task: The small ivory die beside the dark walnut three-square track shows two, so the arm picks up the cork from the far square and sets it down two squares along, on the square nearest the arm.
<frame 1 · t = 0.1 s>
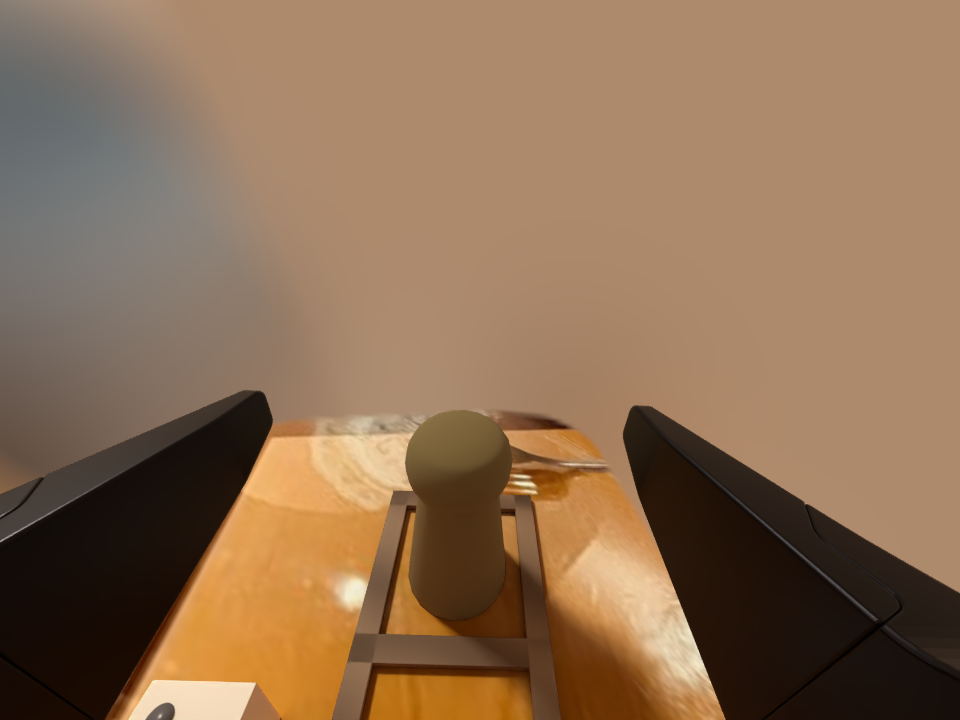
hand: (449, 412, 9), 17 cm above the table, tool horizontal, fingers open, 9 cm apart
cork: (457, 567, 22), on the table
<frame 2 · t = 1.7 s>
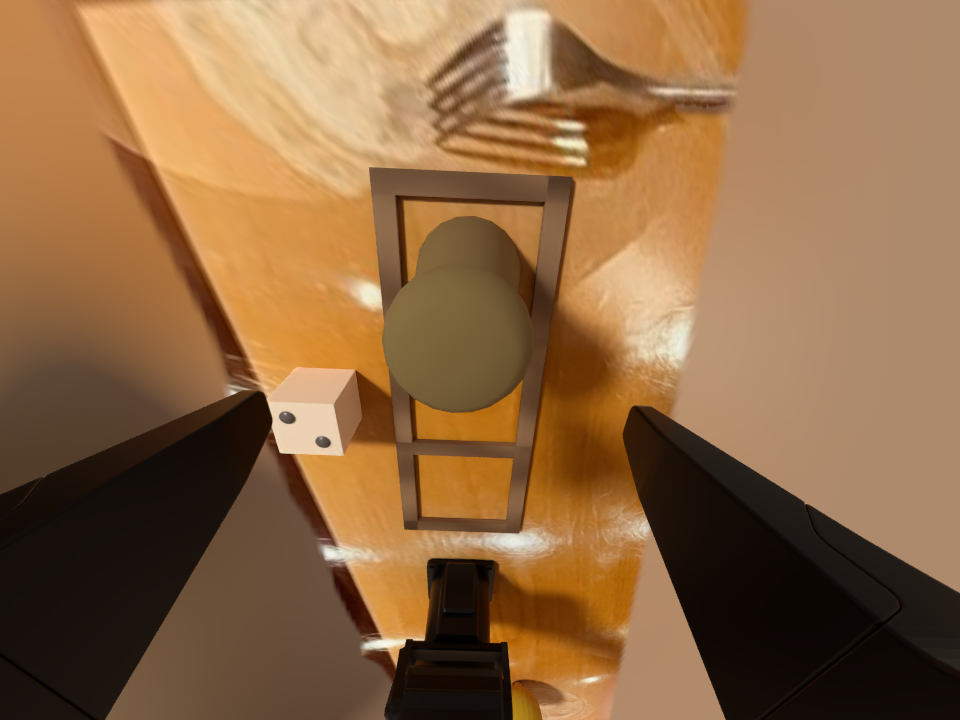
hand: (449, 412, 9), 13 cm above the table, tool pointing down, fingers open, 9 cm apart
lemon: (517, 680, 47), on the table
three-pane window frame: (465, 398, 25), on the table
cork: (468, 270, 20), on the table
die: (331, 392, 25), on the table
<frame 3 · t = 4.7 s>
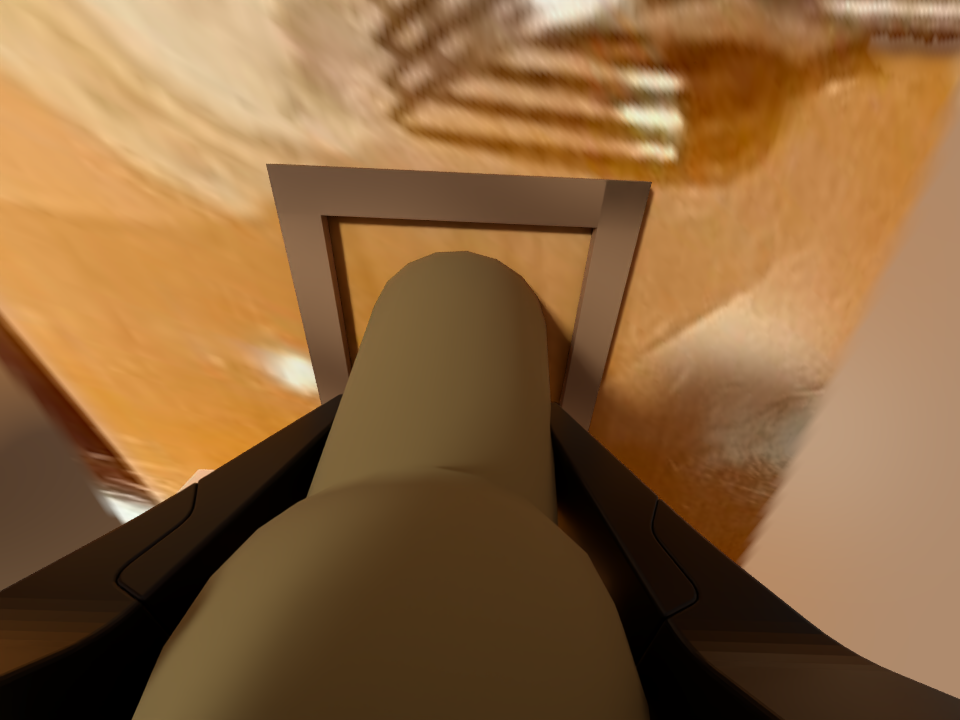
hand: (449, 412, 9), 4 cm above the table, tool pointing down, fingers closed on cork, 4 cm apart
three-pane window frame: (456, 508, 17), on the table
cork: (459, 336, 12), on the table, touching gripper
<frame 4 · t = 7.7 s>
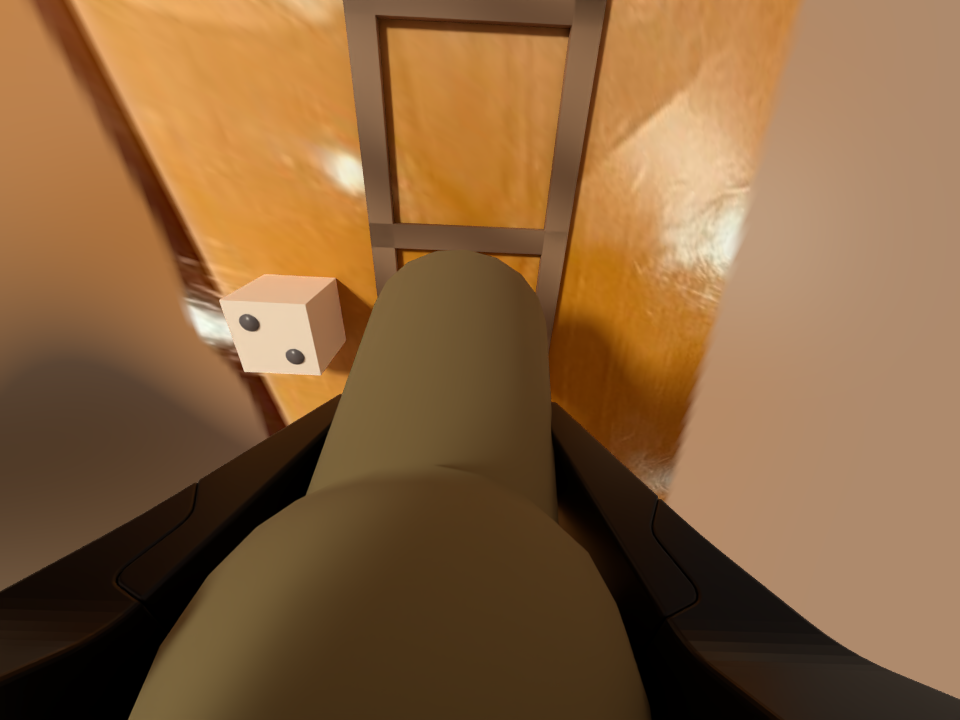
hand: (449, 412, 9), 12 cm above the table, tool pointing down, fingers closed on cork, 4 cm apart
three-pane window frame: (467, 316, 21), on the table
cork: (459, 335, 12), point 8 cm above the table, touching gripper
die: (307, 308, 21), on the table
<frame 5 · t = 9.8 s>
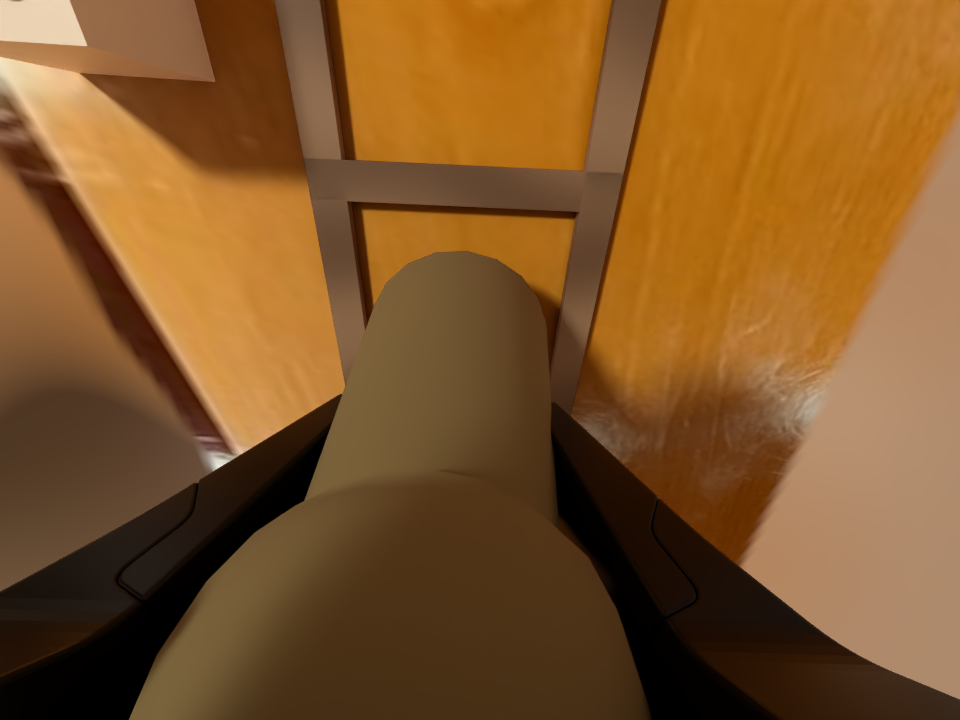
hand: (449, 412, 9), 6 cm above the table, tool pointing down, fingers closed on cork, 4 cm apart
three-pane window frame: (467, 1, 9), on the table
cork: (459, 337, 12), point 2 cm above the table, touching gripper
when the fingers open (5 cm above the table, at t = 11.1 s): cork stays where it is, on the table.
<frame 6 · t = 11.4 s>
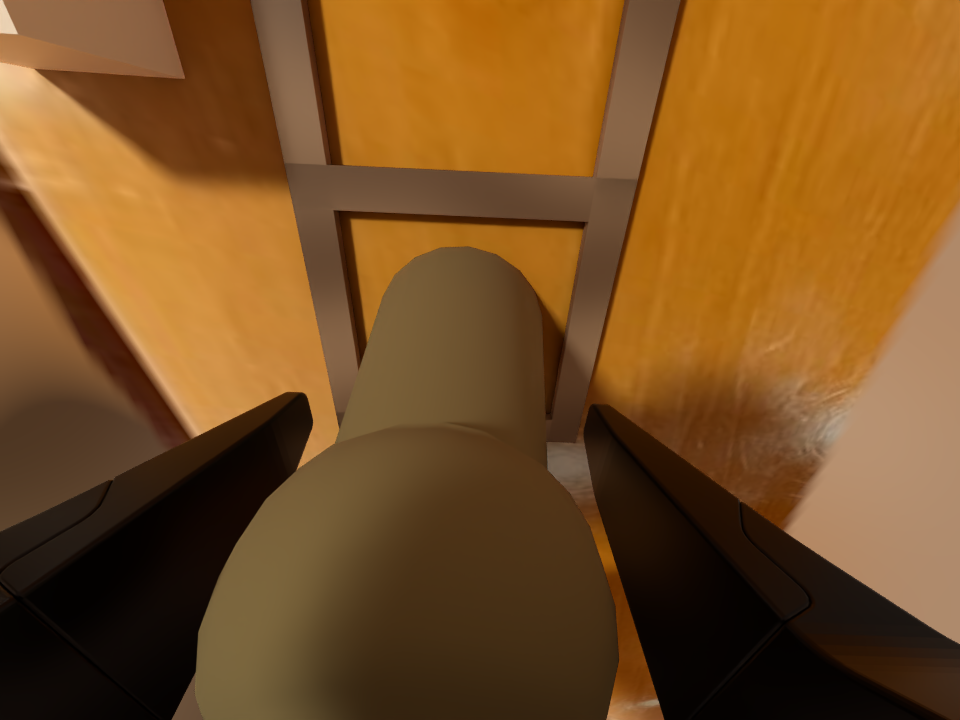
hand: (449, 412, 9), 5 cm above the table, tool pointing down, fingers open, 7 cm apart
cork: (461, 327, 13), on the table
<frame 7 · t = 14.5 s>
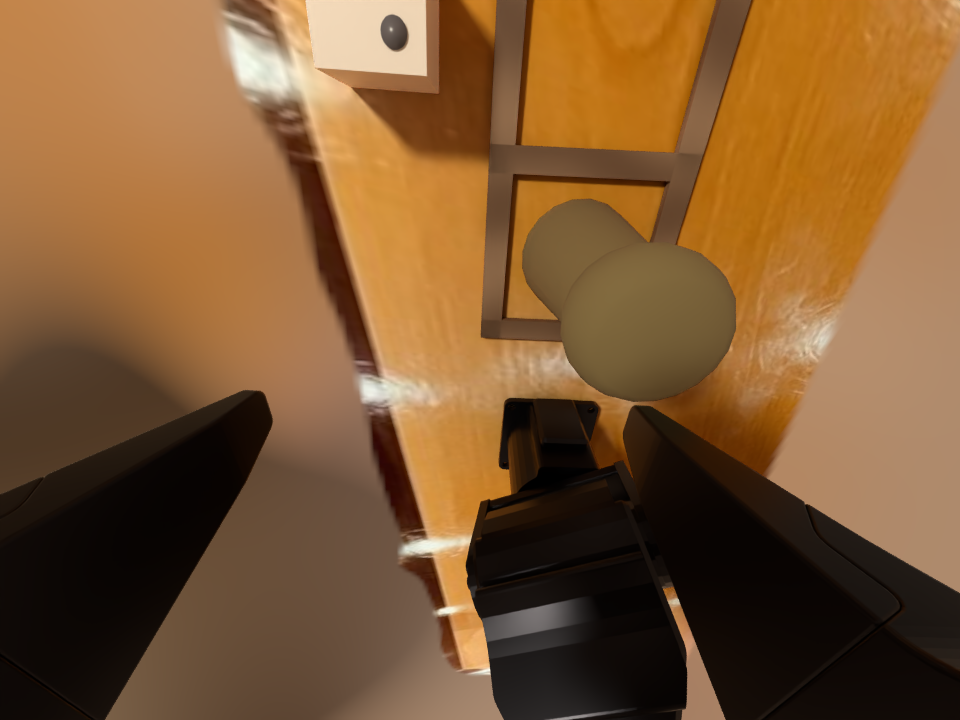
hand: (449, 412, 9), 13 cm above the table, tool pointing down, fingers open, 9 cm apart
three-pane window frame: (613, 43, 15), on the table
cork: (575, 256, 20), on the table
die: (392, 32, 15), on the table
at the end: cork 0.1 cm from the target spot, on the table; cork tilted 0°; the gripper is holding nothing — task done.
